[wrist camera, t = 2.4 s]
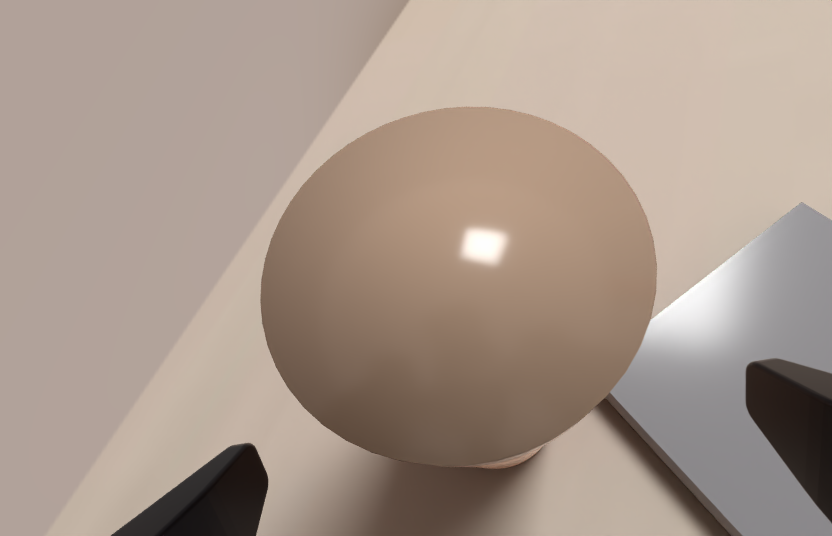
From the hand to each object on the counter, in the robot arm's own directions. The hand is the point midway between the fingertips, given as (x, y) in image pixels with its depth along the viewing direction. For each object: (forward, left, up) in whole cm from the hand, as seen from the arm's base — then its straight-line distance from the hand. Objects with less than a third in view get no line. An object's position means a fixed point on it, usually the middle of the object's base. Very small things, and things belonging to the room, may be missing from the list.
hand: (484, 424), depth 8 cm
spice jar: (+2, -1, -9) cm, 9 cm away
